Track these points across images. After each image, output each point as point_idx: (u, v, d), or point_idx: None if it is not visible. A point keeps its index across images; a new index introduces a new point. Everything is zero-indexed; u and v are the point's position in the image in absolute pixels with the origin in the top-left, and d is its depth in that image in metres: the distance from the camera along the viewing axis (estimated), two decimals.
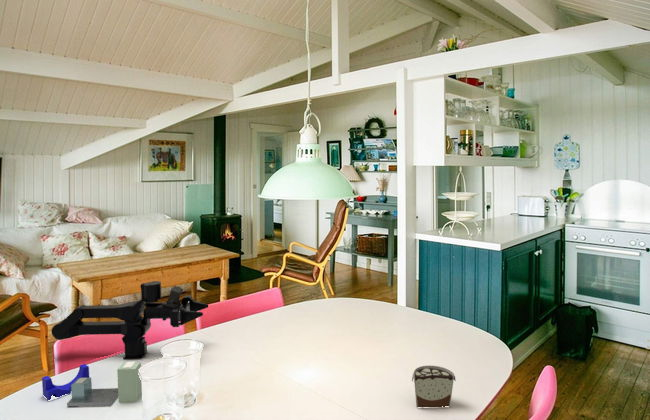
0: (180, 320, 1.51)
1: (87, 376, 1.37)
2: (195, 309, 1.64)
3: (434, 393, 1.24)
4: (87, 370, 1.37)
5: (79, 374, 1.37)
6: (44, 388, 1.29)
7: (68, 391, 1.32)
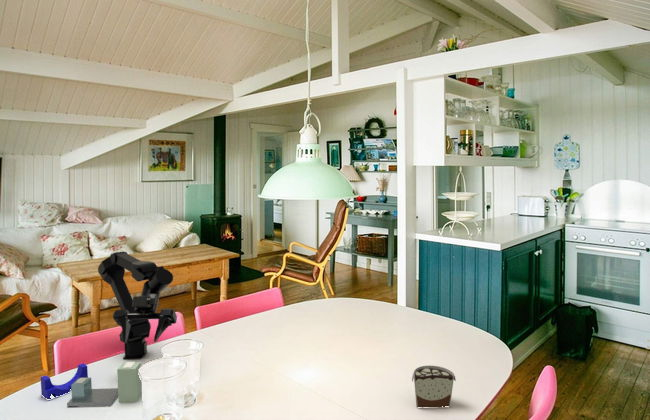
0: None
1: (85, 375, 1.38)
2: None
3: (434, 393, 1.24)
4: (85, 369, 1.38)
5: (78, 374, 1.37)
6: (43, 387, 1.29)
7: (67, 390, 1.32)
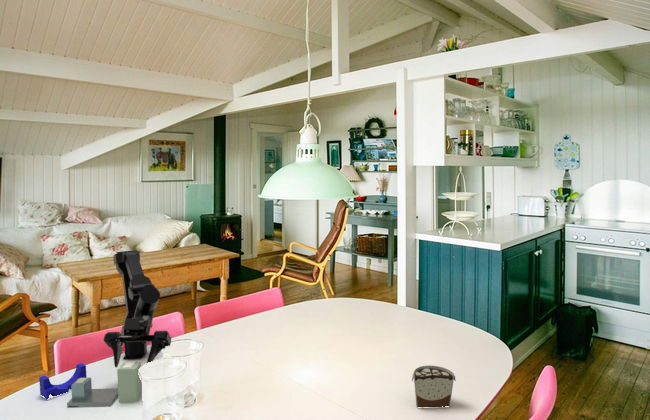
0: None
1: (84, 375, 1.38)
2: None
3: (434, 393, 1.24)
4: (84, 369, 1.38)
5: (76, 373, 1.38)
6: (42, 387, 1.29)
7: (66, 390, 1.32)
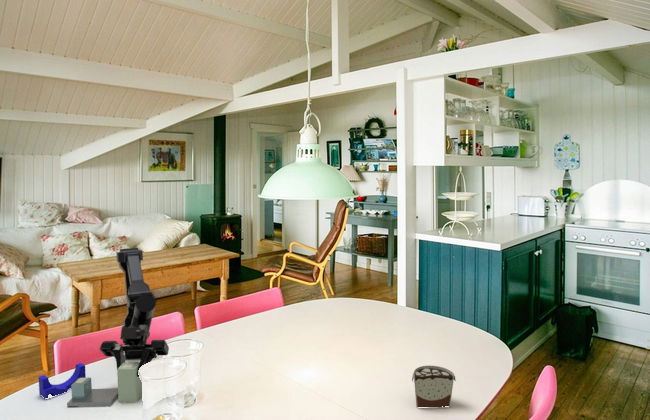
0: None
1: (83, 375, 1.38)
2: None
3: (434, 393, 1.24)
4: (83, 369, 1.38)
5: (76, 373, 1.38)
6: (41, 387, 1.30)
7: (65, 390, 1.33)
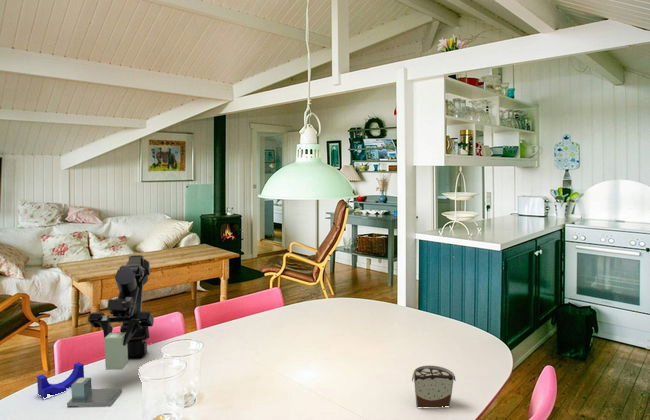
0: None
1: (82, 374, 1.39)
2: None
3: (434, 393, 1.24)
4: (82, 368, 1.38)
5: (74, 372, 1.38)
6: (40, 386, 1.30)
7: (63, 389, 1.33)
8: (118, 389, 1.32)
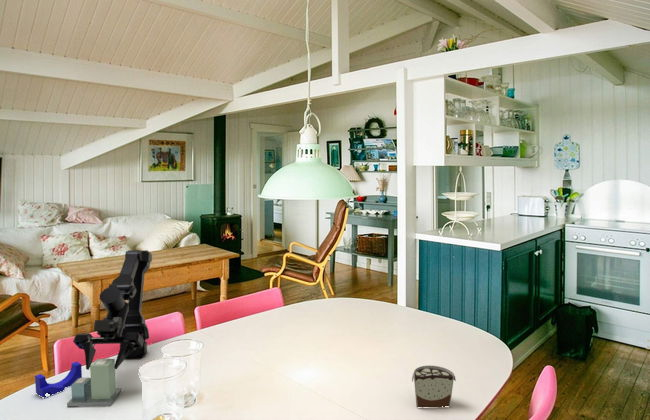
0: None
1: (79, 373, 1.39)
2: None
3: (434, 393, 1.24)
4: (79, 367, 1.39)
5: (72, 372, 1.39)
6: (38, 386, 1.30)
7: (62, 388, 1.33)
8: (118, 389, 1.32)
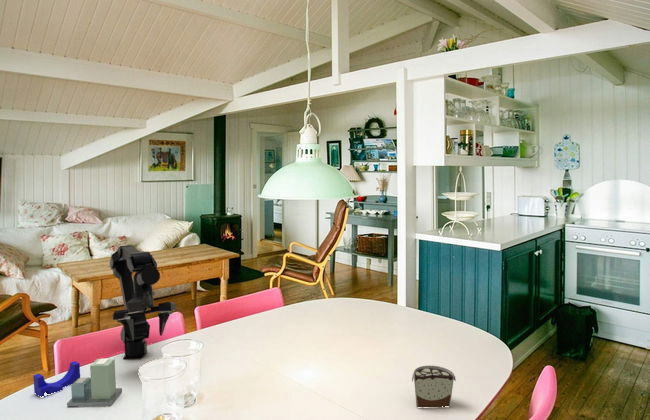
0: None
1: (78, 373, 1.39)
2: None
3: (434, 393, 1.24)
4: (78, 367, 1.39)
5: (70, 371, 1.39)
6: (36, 385, 1.30)
7: (60, 388, 1.34)
8: (118, 389, 1.32)
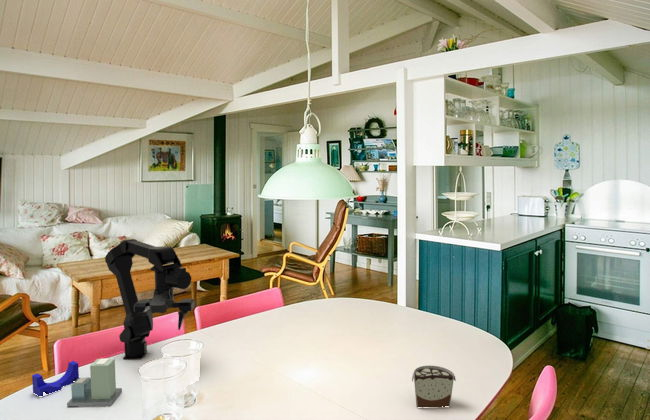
0: None
1: (76, 373, 1.40)
2: None
3: (434, 393, 1.24)
4: (76, 367, 1.40)
5: (69, 371, 1.39)
6: (35, 385, 1.31)
7: (59, 388, 1.34)
8: (118, 389, 1.32)
